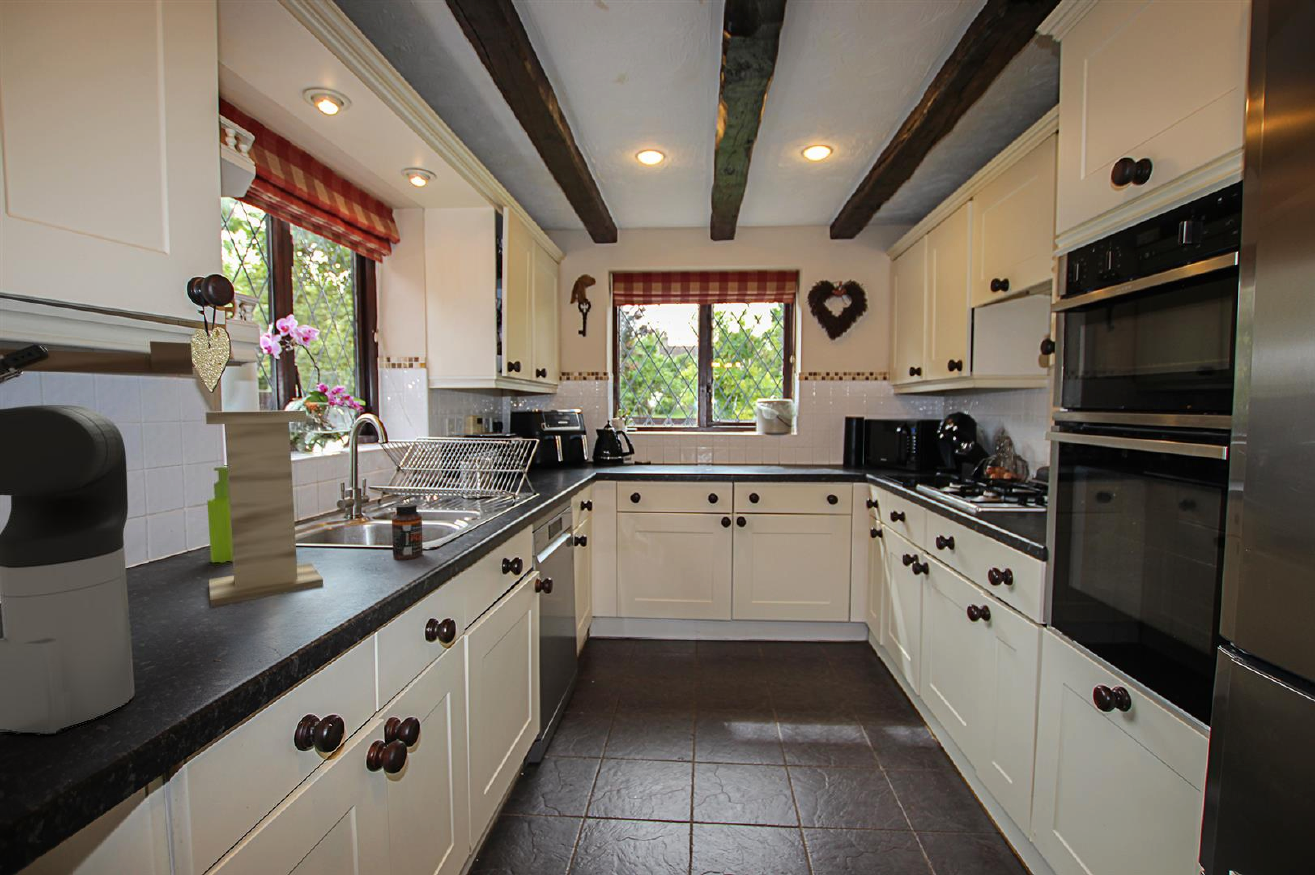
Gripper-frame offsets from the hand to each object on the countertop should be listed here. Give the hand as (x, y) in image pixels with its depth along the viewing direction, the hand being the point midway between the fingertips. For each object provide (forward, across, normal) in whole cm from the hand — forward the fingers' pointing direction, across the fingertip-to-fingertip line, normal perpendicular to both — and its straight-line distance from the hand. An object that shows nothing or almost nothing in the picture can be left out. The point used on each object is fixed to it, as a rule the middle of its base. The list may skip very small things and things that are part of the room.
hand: (45, 351), depth 82 cm
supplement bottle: (+23, +3, +61) cm, 65 cm away
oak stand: (+1, 0, +48) cm, 48 cm away
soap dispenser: (-3, +27, +46) cm, 54 cm away
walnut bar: (+3, 0, +5) cm, 6 cm away
